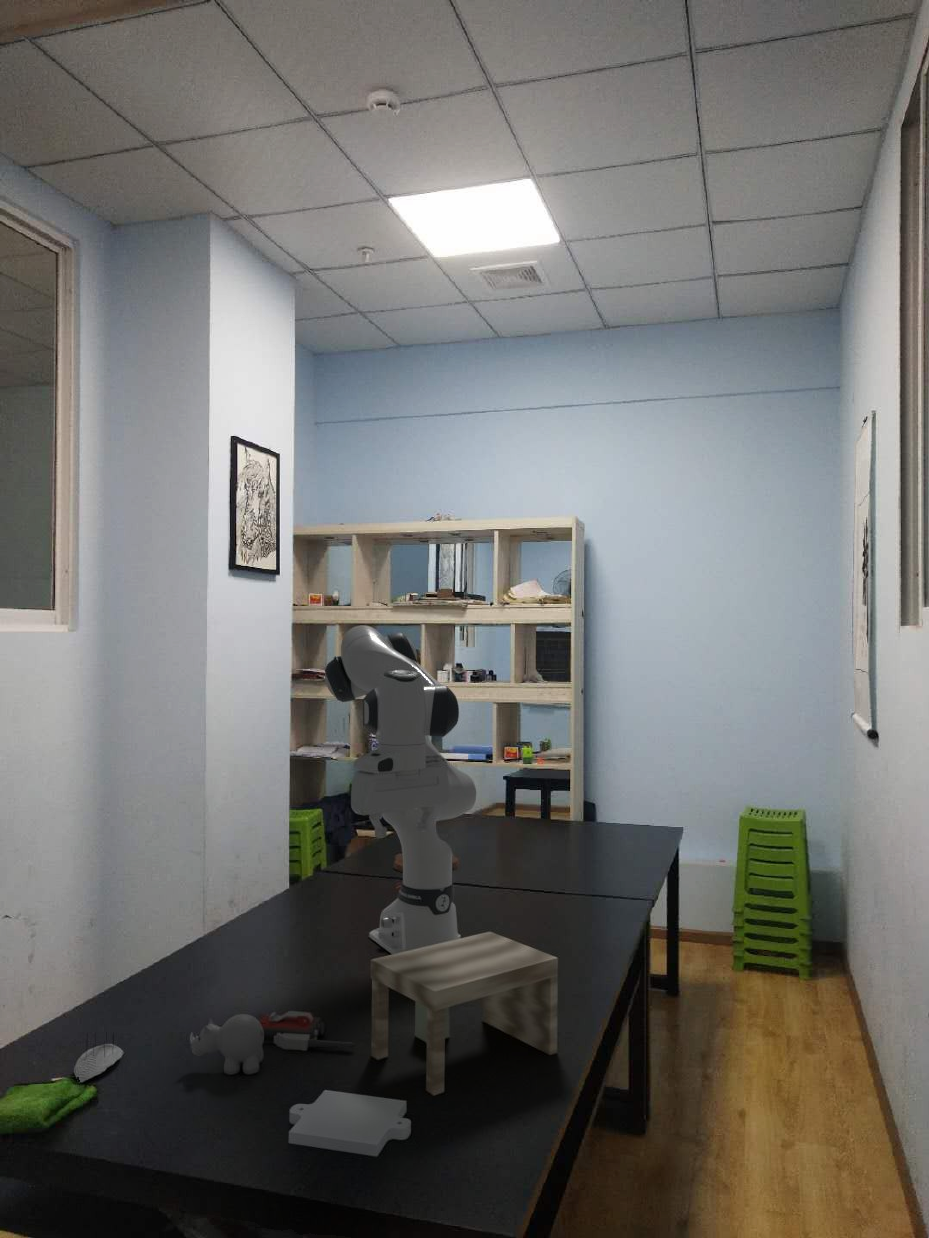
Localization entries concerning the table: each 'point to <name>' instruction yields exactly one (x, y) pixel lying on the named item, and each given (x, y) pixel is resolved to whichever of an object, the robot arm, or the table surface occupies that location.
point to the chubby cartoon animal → (233, 1043)
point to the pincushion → (96, 1060)
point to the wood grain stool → (469, 992)
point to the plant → (399, 862)
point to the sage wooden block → (422, 1021)
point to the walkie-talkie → (296, 1031)
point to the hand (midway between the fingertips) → (402, 834)
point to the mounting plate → (349, 1122)
